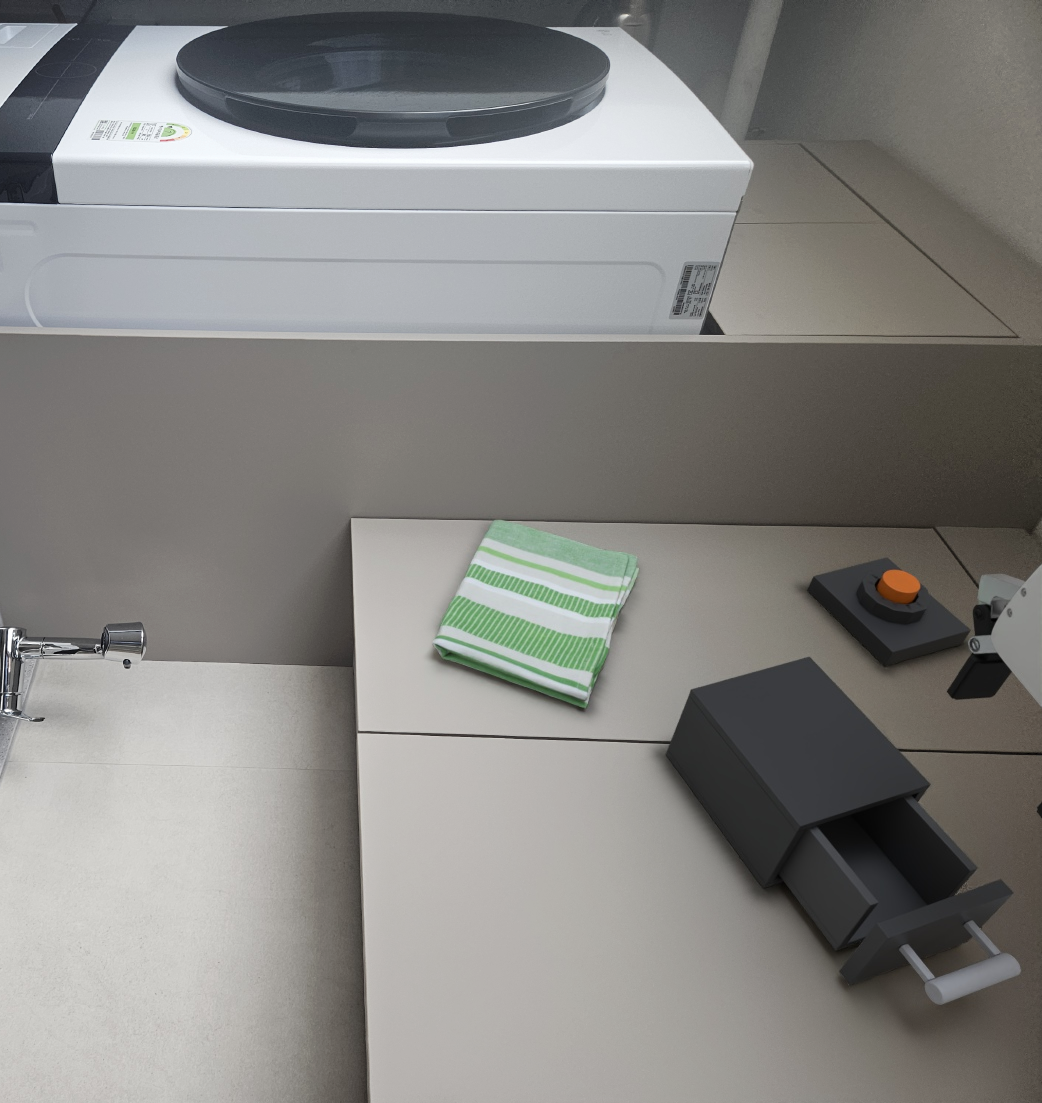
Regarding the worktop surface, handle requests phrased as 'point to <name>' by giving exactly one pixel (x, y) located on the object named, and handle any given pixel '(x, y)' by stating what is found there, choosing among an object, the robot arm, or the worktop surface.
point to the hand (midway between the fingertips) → (1012, 751)
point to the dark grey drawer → (897, 896)
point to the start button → (898, 586)
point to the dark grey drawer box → (784, 760)
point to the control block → (886, 614)
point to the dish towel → (537, 610)
